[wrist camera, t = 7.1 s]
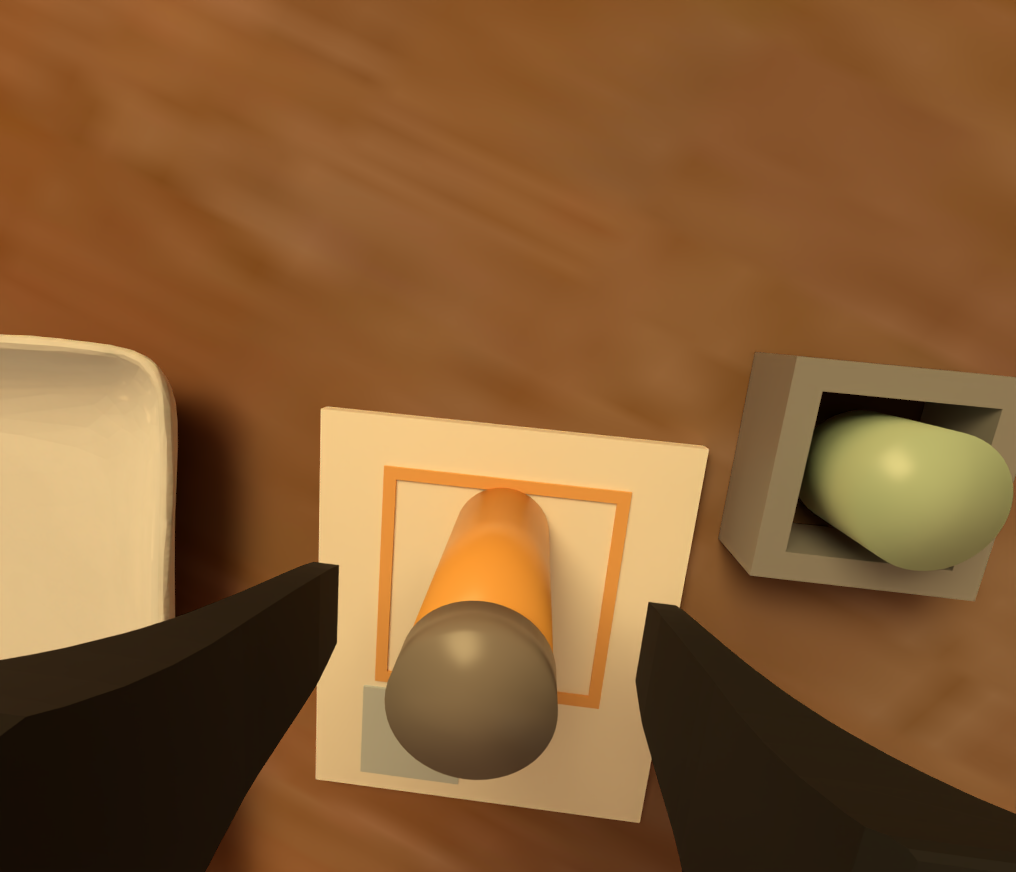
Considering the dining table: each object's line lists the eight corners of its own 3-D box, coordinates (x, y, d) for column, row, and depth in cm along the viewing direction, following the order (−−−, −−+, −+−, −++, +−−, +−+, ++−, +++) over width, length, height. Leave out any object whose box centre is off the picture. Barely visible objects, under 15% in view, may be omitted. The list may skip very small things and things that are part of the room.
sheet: (637, 810, 19) (640, 825, 18) (321, 767, 19) (314, 781, 19) (703, 445, 16) (709, 450, 15) (327, 406, 16) (319, 409, 16)
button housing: (908, 559, 16) (974, 601, 14) (718, 538, 16) (750, 575, 14) (962, 371, 15) (1046, 380, 12) (755, 351, 15) (797, 356, 13)
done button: (899, 529, 15) (988, 578, 12) (782, 516, 15) (841, 562, 12) (930, 416, 14) (1033, 439, 11) (807, 404, 14) (877, 423, 11)
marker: (545, 580, 16) (548, 789, 9) (451, 570, 17) (383, 769, 9) (555, 491, 16) (566, 644, 8) (456, 481, 16) (385, 624, 9)
